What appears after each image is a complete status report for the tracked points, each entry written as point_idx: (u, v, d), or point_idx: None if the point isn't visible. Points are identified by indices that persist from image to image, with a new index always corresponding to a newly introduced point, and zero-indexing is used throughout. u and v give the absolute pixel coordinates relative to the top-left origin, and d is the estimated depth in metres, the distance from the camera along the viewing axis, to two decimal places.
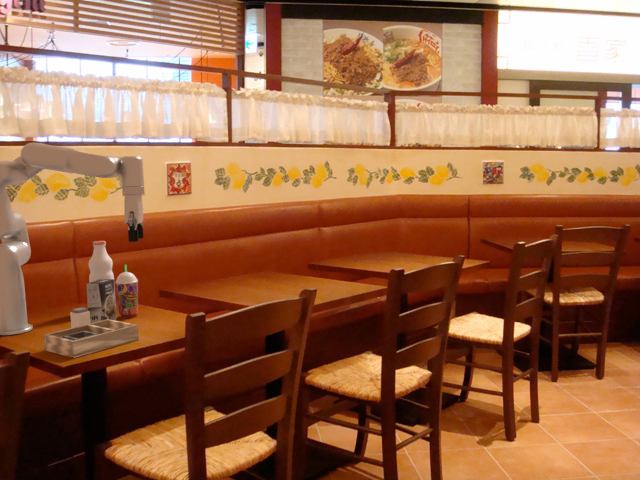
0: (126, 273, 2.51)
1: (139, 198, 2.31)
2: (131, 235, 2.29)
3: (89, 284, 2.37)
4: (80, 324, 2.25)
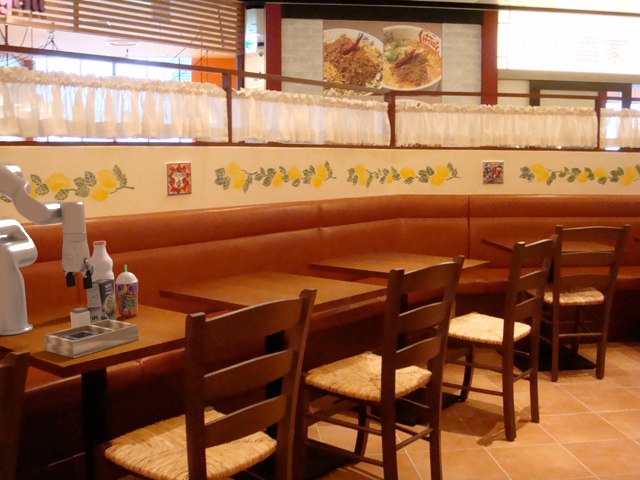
0: (126, 273, 2.51)
1: None
2: (88, 282, 2.22)
3: None
4: (80, 324, 2.25)
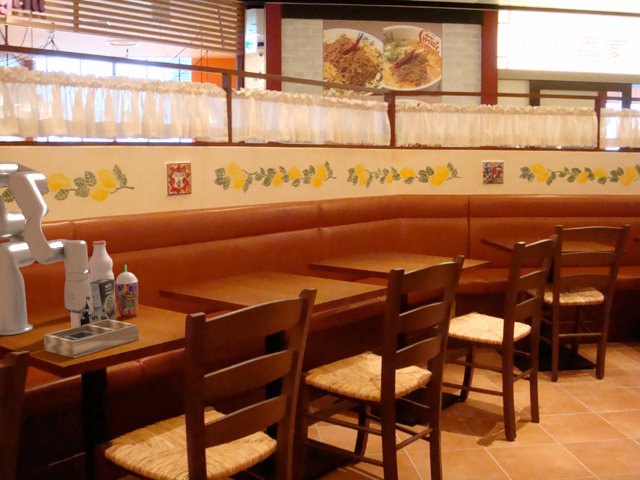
0: (126, 273, 2.51)
1: None
2: None
3: None
4: (80, 324, 2.25)
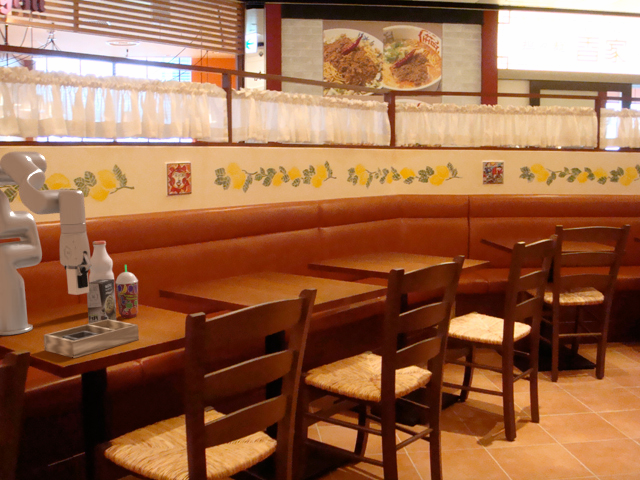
0: (126, 273, 2.51)
1: None
2: (83, 280, 2.08)
3: (89, 284, 2.37)
4: (77, 281, 2.07)
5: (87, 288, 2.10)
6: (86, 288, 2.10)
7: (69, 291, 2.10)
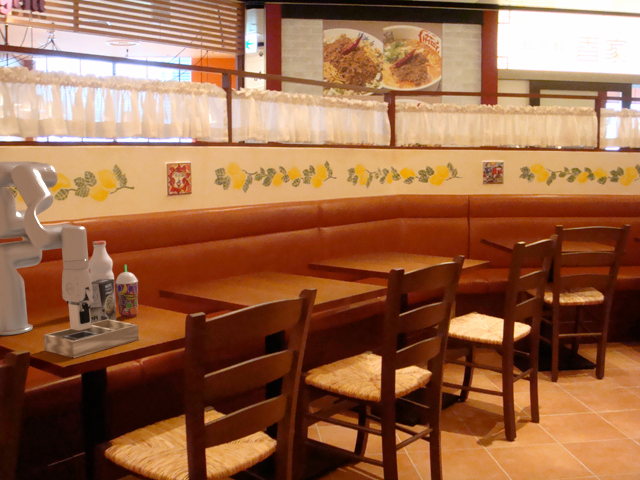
0: (126, 273, 2.51)
1: None
2: (85, 316, 2.08)
3: None
4: (79, 316, 2.08)
5: (89, 323, 2.11)
6: (88, 323, 2.10)
7: (71, 326, 2.10)
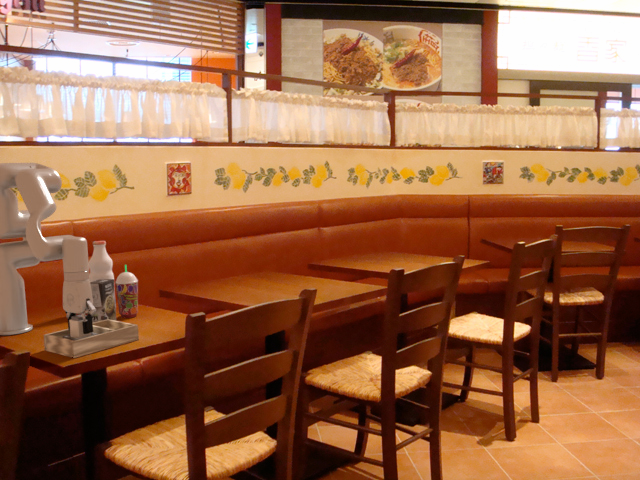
0: (126, 273, 2.51)
1: None
2: (88, 326, 2.08)
3: None
4: (80, 332, 2.09)
5: None
6: None
7: None
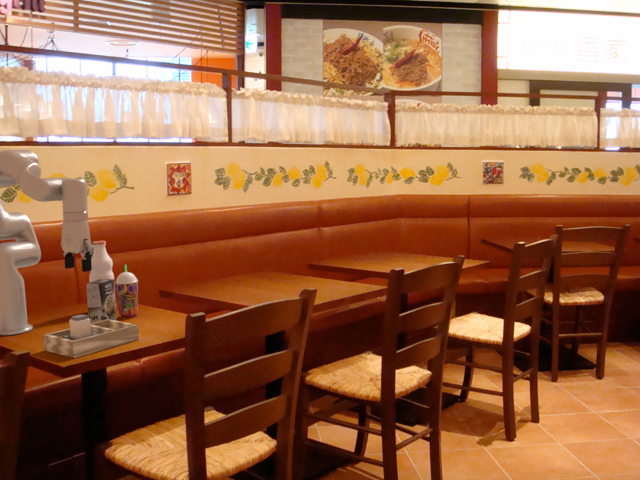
0: (126, 273, 2.51)
1: None
2: (87, 264, 2.11)
3: (89, 284, 2.37)
4: (80, 332, 2.09)
5: None
6: None
7: None
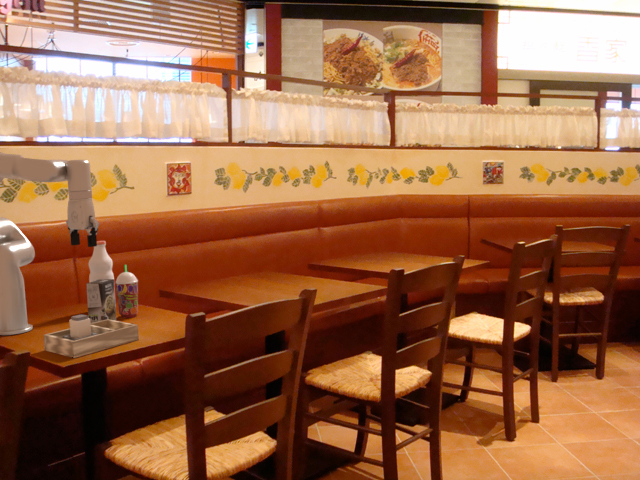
0: (126, 273, 2.51)
1: None
2: (92, 240, 2.25)
3: (89, 284, 2.37)
4: (80, 332, 2.09)
5: None
6: None
7: None
